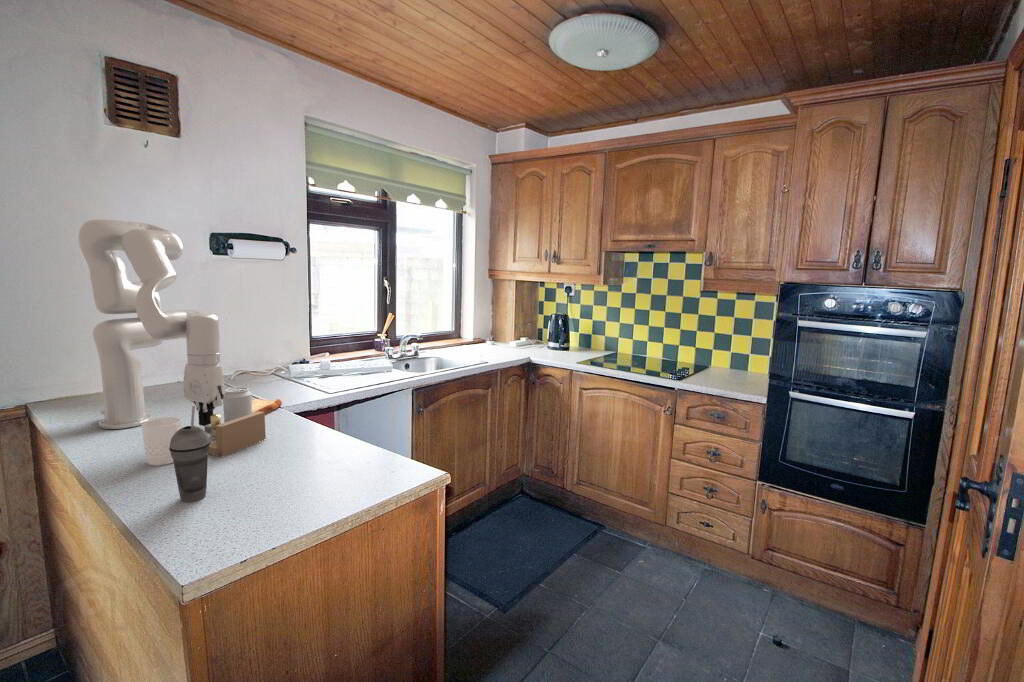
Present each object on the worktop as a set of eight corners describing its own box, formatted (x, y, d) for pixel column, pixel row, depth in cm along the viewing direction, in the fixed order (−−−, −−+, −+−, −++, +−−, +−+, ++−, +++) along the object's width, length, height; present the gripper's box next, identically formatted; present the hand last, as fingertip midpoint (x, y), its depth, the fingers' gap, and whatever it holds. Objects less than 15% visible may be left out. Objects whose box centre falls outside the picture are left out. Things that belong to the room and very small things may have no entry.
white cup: (141, 468, 118) (138, 428, 117) (147, 457, 125) (144, 419, 124) (181, 463, 122) (178, 424, 120) (184, 452, 129) (182, 415, 127)
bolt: (209, 435, 135) (207, 415, 135) (216, 432, 138) (215, 413, 137) (235, 439, 133) (234, 419, 132) (242, 437, 135) (241, 417, 134)
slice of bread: (236, 425, 153) (235, 413, 152) (219, 411, 165) (219, 400, 165) (295, 414, 165) (295, 403, 165) (276, 402, 178) (275, 392, 177)
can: (240, 432, 145) (238, 392, 143) (218, 430, 146) (216, 390, 145) (258, 424, 152) (256, 386, 150) (237, 422, 154) (235, 385, 152)
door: (149, 442, 135) (147, 414, 134) (196, 427, 148) (194, 401, 147) (223, 456, 127) (221, 426, 126) (265, 439, 140) (264, 412, 139)
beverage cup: (185, 489, 108) (179, 401, 105) (219, 489, 109) (214, 401, 106) (164, 505, 101) (157, 411, 98) (202, 505, 102) (196, 411, 99)
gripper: (170, 358, 133) (173, 423, 135) (212, 365, 128) (215, 432, 131) (195, 354, 140) (198, 416, 143) (236, 360, 135) (238, 424, 138)
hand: (206, 424), depth 137 cm, fingers closed
